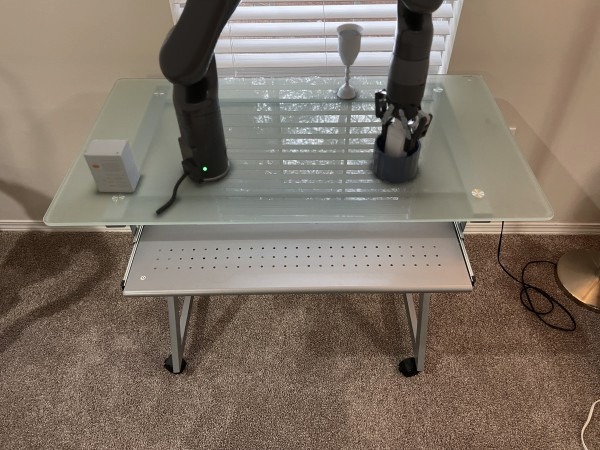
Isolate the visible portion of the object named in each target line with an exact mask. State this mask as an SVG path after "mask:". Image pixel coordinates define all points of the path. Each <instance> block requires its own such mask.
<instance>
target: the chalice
mask: <svg viewBox="0 0 600 450" xmlns="http://www.w3.org/2000/svg"><path fill="white" fill-rule="evenodd" d="M335 32H336V34H337V52H338V54H339V55H338V56H339V58H340V60H341V63H342V65H344V66H345V70H344V73H345V76H343V79H344V81H345V82H344V83H343V84H342V85H340V87H339V89H338V91H337V93H336V95H337V96H338V98H340V99H342V100H351V99H353V98H355V97H356V94H357V93H356V92H355V88H354V86H353V85H352V84H350V80H351V76H350V73H351V68H350V66H353V65H354V63H355V61H356V60H357V58H358V56H359V54H360V51H361V45H362V34H363V33H364V27H362V26H361V25H360V24H357V23H343V24H340V25H338V26H337V27H336V29H335Z"/></svg>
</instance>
